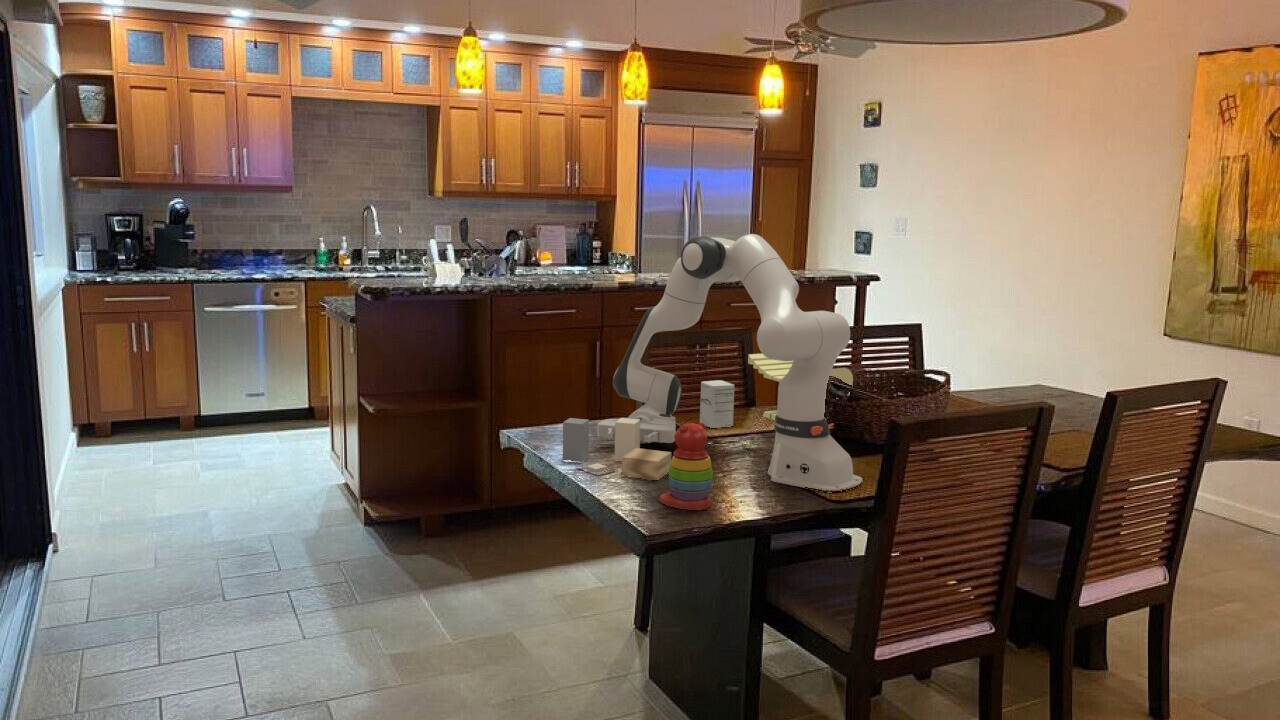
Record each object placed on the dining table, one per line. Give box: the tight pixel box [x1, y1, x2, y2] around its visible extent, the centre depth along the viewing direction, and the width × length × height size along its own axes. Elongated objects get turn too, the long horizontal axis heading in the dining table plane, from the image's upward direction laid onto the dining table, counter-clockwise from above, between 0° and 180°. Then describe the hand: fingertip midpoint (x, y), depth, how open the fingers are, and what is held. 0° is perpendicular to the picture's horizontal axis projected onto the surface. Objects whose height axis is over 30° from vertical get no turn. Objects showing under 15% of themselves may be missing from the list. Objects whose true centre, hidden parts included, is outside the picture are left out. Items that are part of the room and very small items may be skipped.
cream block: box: [614, 417, 641, 462], centre depth 238 cm, size 5×5×10 cm
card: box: [586, 462, 617, 473], centre depth 229 cm, size 8×6×1 cm
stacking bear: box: [658, 422, 714, 511], centre depth 203 cm, size 11×10×18 cm
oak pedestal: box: [621, 448, 672, 481], centre depth 226 cm, size 9×9×5 cm
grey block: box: [562, 417, 590, 462], centre depth 236 cm, size 5×5×10 cm
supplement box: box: [699, 379, 735, 429], centre depth 276 cm, size 7×7×13 cm
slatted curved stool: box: [747, 353, 854, 420], centre depth 285 cm, size 30×16×18 cm, turn 28°
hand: (628, 437), depth 238 cm, fingers open, 8 cm apart
